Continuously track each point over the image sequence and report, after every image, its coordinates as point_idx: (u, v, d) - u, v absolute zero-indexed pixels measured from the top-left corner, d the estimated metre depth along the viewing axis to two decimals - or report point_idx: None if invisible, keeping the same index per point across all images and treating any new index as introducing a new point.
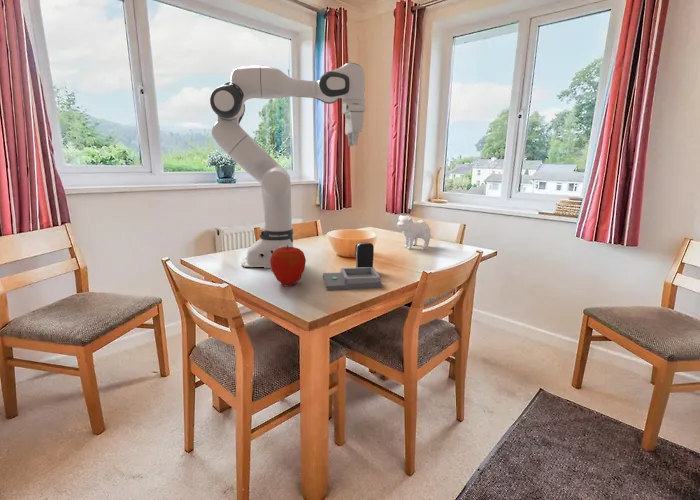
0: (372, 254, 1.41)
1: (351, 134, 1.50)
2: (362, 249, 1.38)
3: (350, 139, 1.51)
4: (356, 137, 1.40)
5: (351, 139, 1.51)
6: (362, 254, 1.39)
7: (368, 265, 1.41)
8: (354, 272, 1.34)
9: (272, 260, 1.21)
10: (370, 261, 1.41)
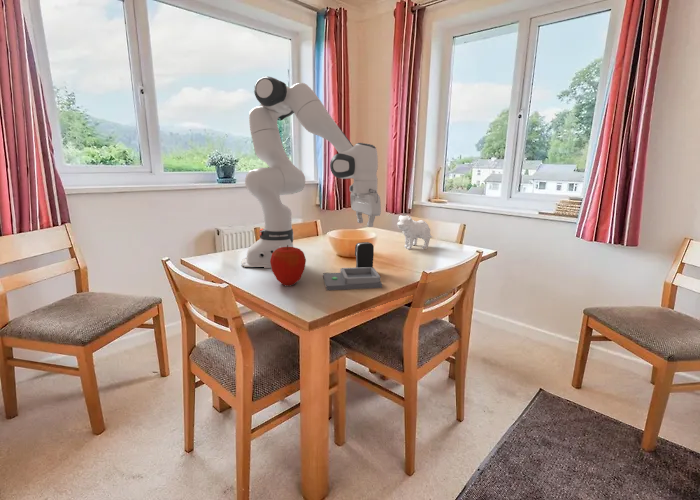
0: (372, 254, 1.41)
1: None
2: (362, 249, 1.38)
3: None
4: None
5: None
6: (362, 254, 1.39)
7: (368, 265, 1.41)
8: (354, 272, 1.34)
9: (272, 260, 1.21)
10: (370, 261, 1.41)
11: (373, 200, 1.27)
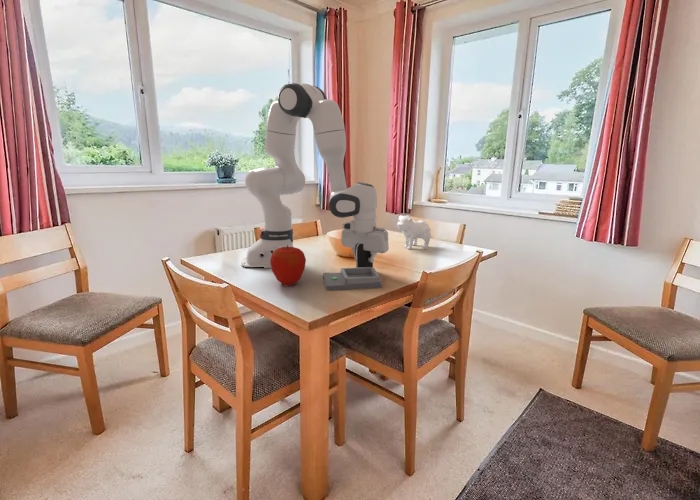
0: None
1: None
2: (362, 248, 1.39)
3: None
4: None
5: None
6: (362, 254, 1.39)
7: (368, 265, 1.41)
8: (354, 272, 1.34)
9: (272, 260, 1.21)
10: None
11: (384, 239, 1.33)
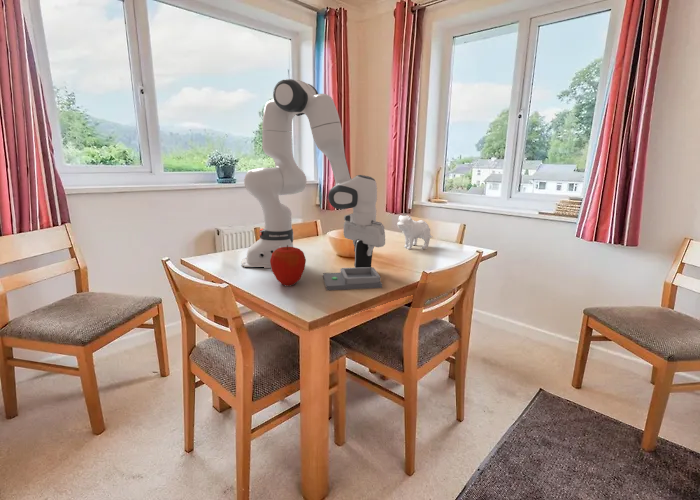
0: None
1: None
2: (361, 245, 1.39)
3: None
4: None
5: None
6: (361, 250, 1.39)
7: (366, 261, 1.42)
8: (354, 272, 1.34)
9: (272, 260, 1.21)
10: (369, 258, 1.41)
11: (379, 233, 1.32)
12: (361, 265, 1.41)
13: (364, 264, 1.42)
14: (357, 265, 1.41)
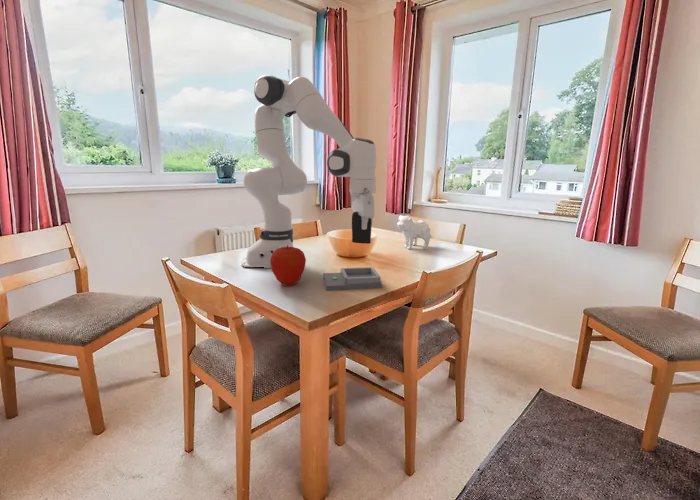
0: (369, 225, 1.25)
1: None
2: (356, 217, 1.25)
3: None
4: None
5: None
6: (357, 223, 1.25)
7: (364, 236, 1.26)
8: (354, 272, 1.34)
9: (272, 260, 1.21)
10: (367, 232, 1.26)
11: (365, 201, 1.15)
12: (358, 240, 1.27)
13: (361, 239, 1.27)
14: (353, 239, 1.27)
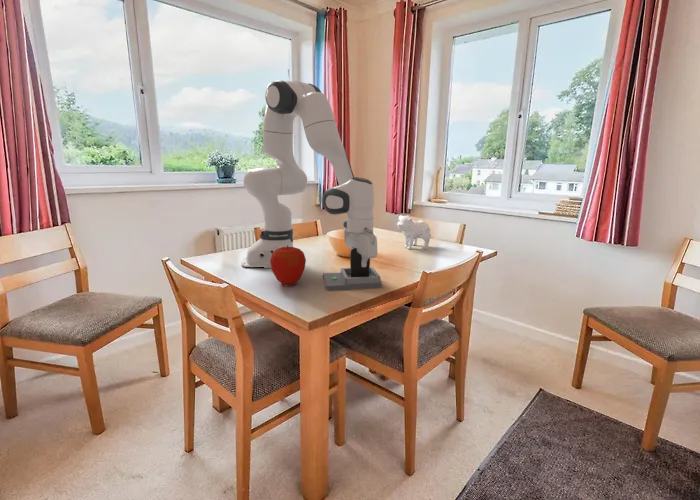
0: (368, 260, 1.26)
1: None
2: (356, 253, 1.25)
3: None
4: None
5: None
6: (356, 259, 1.26)
7: (363, 272, 1.27)
8: None
9: (272, 260, 1.21)
10: (366, 268, 1.27)
11: (369, 242, 1.17)
12: (357, 276, 1.28)
13: (360, 275, 1.28)
14: (352, 275, 1.28)
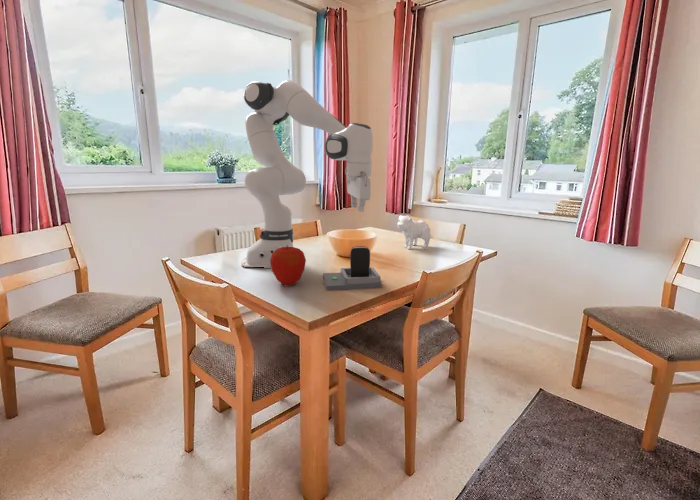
0: (368, 260, 1.26)
1: None
2: (356, 253, 1.26)
3: None
4: None
5: None
6: (356, 259, 1.26)
7: (363, 272, 1.27)
8: None
9: (272, 260, 1.21)
10: (366, 268, 1.27)
11: (362, 184, 1.22)
12: (357, 276, 1.28)
13: (360, 275, 1.28)
14: (352, 275, 1.28)
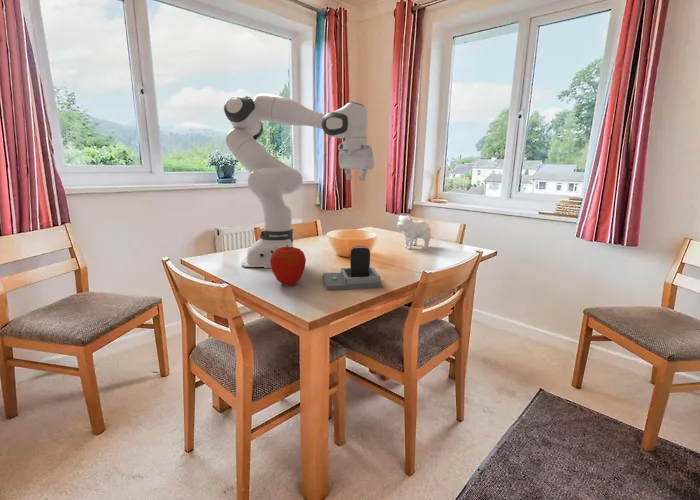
0: (368, 260, 1.26)
1: None
2: (356, 253, 1.26)
3: None
4: None
5: None
6: (356, 259, 1.26)
7: (363, 272, 1.27)
8: None
9: (272, 260, 1.21)
10: (366, 268, 1.27)
11: (367, 154, 1.39)
12: (357, 276, 1.28)
13: (360, 275, 1.28)
14: (352, 275, 1.28)
